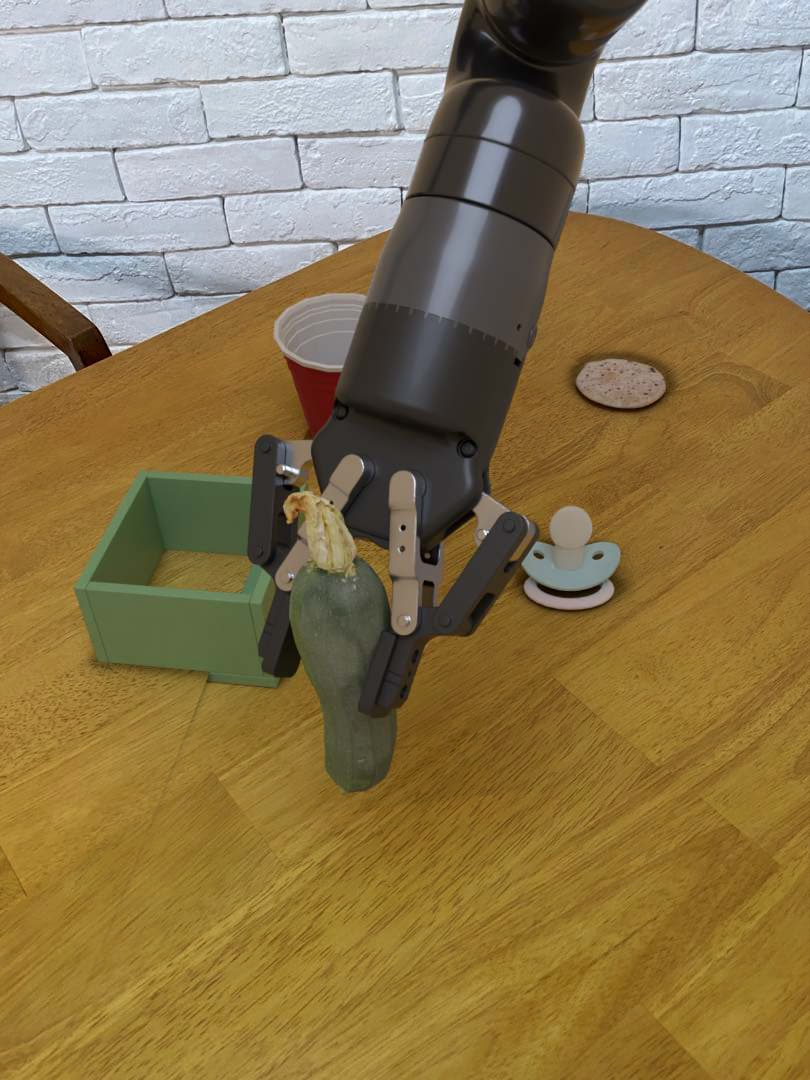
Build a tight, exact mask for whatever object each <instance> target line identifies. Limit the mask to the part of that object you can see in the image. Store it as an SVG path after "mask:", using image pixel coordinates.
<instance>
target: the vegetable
mask: <svg viewBox="0 0 810 1080" xmlns="http://www.w3.org/2000/svg"><path fill="white" fill-rule="evenodd" d="M284 503H285V504H284V505H283V508H284V512H285V514H286V517H287V518H288V520H287V521H286V522H287V523H288V524H289V523H292V521H293V519H294V518H295V517H297V516H298V512H296V509H298V510H299V512H301V513H303V514H304V515H305V519H306V524H307V525H306V528H307V541H308V547H309V551H310V552H311V557H312V558H308V560H309V561H308V562H306V563H305V564H304V565H303V566H302V567H301V569H300V570H299V571H298V573H297V575H296V577H295V579H294V582H293V585H292V589H291V596H290V607H289V618H290V622H291V627H292V631H293V636H294V640H295V643H296V647H297V649H298V652H299V654H300V656H301V662H302V665H303V667H304V671H305V674H306V676H307V677H308V680H309V682H310V684H311V685H312V687H313V689H314V690H315V692H316V694H317V697H318V700H319V703H320V708H321V712H322V716H323V745H324V768H325V771H326V773H327V775H329V777H330V778H331V780H332V781H333V782H334V783H335V785H337V786H338V787H339V792H340V794H341V795H343V796H345V795H349V794H354V793H359V792H367V791H369V790H370V789H373V788H374V787H376V786H377V785H379V784H380V783H381V782H383V781H384V780H385V779H387V776H388V774H389V771H390V768H391V764H392V760H393V757H394V753H395V747H396V743H397V737H398V713H397V712H398V711H397V710H398V709H392V710H391V712H390V713H389V715H388V716H387V717H384V718H371V717H369V716H366V715H364V714H361V713H359V712H358V703H359V700H360V696H361V693H362V690H363V687H364V684H365V681H366V678H367V675H368V672H369V669H370V666H371V663H372V660H373V657H374V654H375V651H376V648H377V645H378V642H379V639H380V636H381V633H382V631H390V630H391V627H392V626H391V604H390V602H389V597H388V593H387V590H386V588H385V587H386V586H385V585H384V583H383V581H382V580H381V578H380V577H379V575H378V574H377V573H376V571H375V570H374V569H373V567H372V566H371V565H370V563H368V562H367V561H366V560H365V559H364V558H363V557H361V556H359V555H357V551H358V550H357V549H358V548H357V545H355V543H354V540H353V538H352V536H351V534H350V533H349V531H348V529H347V527H346V526H345V522H344V518H343V515H342V514H341V512H340V511H339V510H338V509H336V508H335V506H334V505H332V504H329V503H330V501H328V500H326V499H324V498H320V497H319V496H318V495H316V494H315V491H312V490H309V491H302V492H297V493H292V494H291V495H289V496H288V498H287V499H286V500H285V502H284Z"/></svg>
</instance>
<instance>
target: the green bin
mask: <svg viewBox="0 0 810 1080" xmlns="http://www.w3.org/2000/svg"><path fill="white" fill-rule="evenodd" d="M251 490H252V476H243V475H240V476H239V475H228V474H227V475H225V474H212V473H210V474H209V473H193V472H179V471H178V472H177V471H165V470H164V471H163V470H147V469H139V470H138V472H137V474H136V476H135V477H134V479H133V481H132V482H131V484H130V487H129V488H128V490H127V492H126V494H125V495H124V497H123V499H122V500H121V503H120V504H119V506H118V508H117V509H116V512H115V513H114V515H113V517H112V518H111V520H110V522H109V524H108V525H107V527H106V528H105V529H106V530H105V531H104V533H103V534H102V536H101V538H100V540H99V542H98V544H97V545H96V546H95V549H94V551H93V553H92V554H91V556H90V558H89V560H88V561H87V563H86V565H85V567H84V568H83V570H82V572H81V574H80V576H79V578H78V579H77V581H76V582H75V585H74V586H73V591H74V594H75V597H76V600H77V604H78V606H79V609H80V612H81V614H82V617H83V620H84V623H85V626H86V630H87V634H88V636H89V639H90V640H91V644H92V647H93V650H94V653H95V657H96V659H97V662H99V663H110V664H121V665H129V666H130V665H131V666H142V667H153V668H163V669H173V670H185V671H195V672H196V671H197V672H206V673H208V675H207V678H206V682H210V683H219V684H229V685H230V684H231V685H240V686H250V687H251V686H253V687H260V688H262V687H263V688H271V689H272V688H273V689H278V686H279V684H280V680H281V678H276V677H274V676H271V675H269V674H267V673H264V672H263V671H262V669H261V666H262V662H263V659H264V658H262V657H260V656H258V643H259V640H260V637H261V634H262V632H263V628H264V625H265V624H266V619H267V616H268V613H269V610H270V607H271V604H272V601H273V598H274V595H275V590H276V588H275V582H274V580H273V578H272V577H271V576H270V575H269V574H268V573H267V572H266V571H265V570H264V569H263V568H261V567H260V566H259V565H256V564H253V563H252V565H251V568H250V569H249V573H248V575H247V577H246V580H245V582H244V585H243V587H242V590H241V593H238V592H226V591H225V592H224V591H215V590H203V589H189V588H179V587H166V586H155V585H154V586H153V585H148V584H149V582H150V579H151V578H152V576H153V574H154V571H155V569H156V567H157V565H158V563H159V561H160V559H161V557H162V555H163V553H164V551H165V550H171V551H183V552H184V551H185V552H198V553H199V552H200V553H211V554H222V555H237V556H247V546H248V532H249V518H250V504H251ZM302 491H310V490H309V484H308V481H307V482H306V483H305V484H304V485H303V486H301V487H300V492H302ZM304 520H305V515H304V514H303V513H301V512H299V516H298V530H299V528H300V526H301V525H302V523H303V522H304ZM297 532H298V531H297ZM297 539H298V537H297Z"/></svg>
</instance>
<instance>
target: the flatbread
mask: <svg viewBox="0 0 810 1080" xmlns="http://www.w3.org/2000/svg"><path fill="white" fill-rule="evenodd" d="M575 386H576V387H577V388H578V390H579V391H580V393H581V394H582V395H583V396H584V397H585V398H587V399H589V400H590V401H592V402H595V403H598V404H600V405H603V406H607V407H611V408H617V409H638V408H643V407H647V406H649V405H651V404H653V403H655V402H656V401H658V400H659V399H660V398H661V397H662V396H663V395H664V394H665V392H666V390H667V384H666V380H665V377H664V375H663V374H662V373H661V372H660V371H659V370H658V369H656V368H655V367H654V366H651V365H648V364H646V363H645V364H644V363H641V362H636V361H632V360H628V359H621V358H620V359H619V358H605V359H603V360H595V361H589V362H587V363H585V364H584V366H583V368H582V369H581V371H579V373H578V375H577V376H576V378H575Z"/></svg>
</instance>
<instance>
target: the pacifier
mask: <svg viewBox="0 0 810 1080" xmlns="http://www.w3.org/2000/svg"><path fill="white" fill-rule="evenodd" d="M548 531H549V537H550V539H551V540H552V542H553V543H554V545H552V544H549V543H546V542H542V541H537V542H536V543H535V544H534V546H533V547H532V549H531V550H530V552H529V553H528V555H527V556H526V558H525V559H524V561H523V562H522V564H521V565H520V566H521V567H522V568H523V570H524V571H525V573H526V574H527V575H528V576H529V577H528V578H527V579H526V580H525V581H524V585H523V589H524V593H525V594H526V596H528V598H529V599H530V600H532V601H534V602H535V603H537V604H539V605H542V606H544V607H546V608H547V607H548V608H552V609H557V610H567V611H573V610H574V611H575V610H576V611H577V610H584V609H585V610H586V609H591V608H596V607H597V606H601V605H603V604H604V603H607V602H608V601H609V600H610V599H611V598H612V597H613V595H614V593H615V587H614V584H613V582H612V581H611V580H610V578H611V576H613V574H614V573H615V572H616V570H617V569H618V567H619V564H620V562H621V556H622V554H621V549H620V547H619V546H618V545H617V544H615V543H613V542H611V541H598V542H593V543H589V544H587V543H588V542H589V540H590V539H591V537H592V533H593V523H592V519H591V517H590V515H589V514H588V512H586V510H584V509H583V508H581V507H579V506H576V505H566V506H563V507H561V508H559V509H558V510H557V511H556V512H554V514H553V515H552V517H551V519H550V521H549V530H548ZM534 554H540V555H541V556H542V557H543V558H538V557H536V556H535V555H534ZM596 555H603V556H602V557H601V558H599V559H594V557H595V556H596ZM539 584H540V585H542V586H545V587H548V588H550V589H554V590H557V591H566V592H576V591H582V590H587V589H591V588H593V587H596V586H599V587H600V589H599V590H598V591H597V592H595V593H593V594H590V595H586V596H581V597H561V596H555V595H552V594H549V593H546V592H544V591H543V590H541V589H540V588H539V587H538V585H539Z"/></svg>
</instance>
